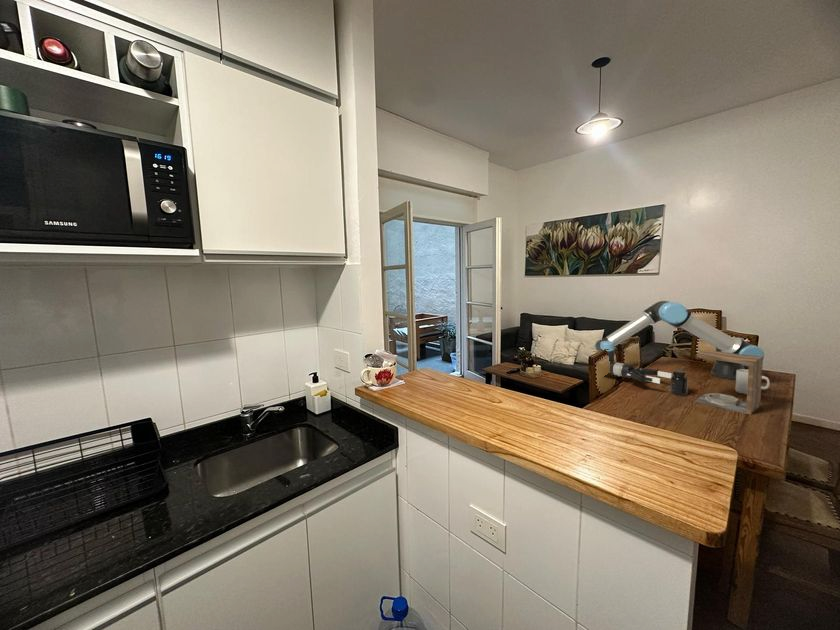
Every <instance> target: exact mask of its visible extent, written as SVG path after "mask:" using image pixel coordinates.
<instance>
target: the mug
mask: <svg viewBox="0 0 840 630" xmlns="http://www.w3.org/2000/svg"><path fill="white" fill-rule="evenodd" d="M748 370H749V369H745V368H744V369H738V370H737V371H736V379H735V392H737V393H739V394H742V393H743V394H744V395H747V388H748ZM762 380H764V381H765V380H766V385H765V386H763V385H761V391H762V390H768V389H769V387H770V384H771V382H770V379H769V378H768V377H767V376H765V375H762ZM743 394H742V395H743Z"/></svg>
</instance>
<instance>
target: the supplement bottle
mask: <svg viewBox="0 0 840 630" xmlns="http://www.w3.org/2000/svg"><path fill="white" fill-rule="evenodd" d="M688 383H689V381H688V378H687V377H686V371H683V370H678V369H677V370H672V377H671V378H670V394H671V395H674V394H675V396H678V395H680V397H686V396H688Z"/></svg>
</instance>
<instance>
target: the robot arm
mask: <svg viewBox="0 0 840 630" xmlns="http://www.w3.org/2000/svg"><path fill="white" fill-rule="evenodd" d="M641 312H642V313H641V314H640V315H638V316H636V317H635V318H633V319H632V320H630V321H628V322H627V323H626V324H624V325H622V326H621V327H620V328H618V329H616V330H615V331H613V332H611V333H610V334H608V335H607V336H606V337H604V338H603V339H598V340H597V341H596V342H595V343H594V347H595V350H596V351H597V352H599V351H601V350H604V349H609V350H606V351H607V353H608V356H609V361H610V373H611V374H610V375H612V376H613V375H614V376H617V377H623V378H628V379H631V378H632V379H634V380H637V381H639V382H642V383H646V382H649V383H654V384H659V385H660V384H661V378H667V379H671V377H672V376H673V372H672V373H671V372H666V371H660V370H659V369H653V368H643V367H642V368H641V367H638V368H634V366H633V365H632V364H626V363H622V362H617V361H615V349H616V346H618V345H619V344H621V343H623V342H624V341H625V340H627V339H629V338H631V337H633V335H635V334H637V333H639V332H640V331H642V330H644V329H645V328H647V327H648V326H650V325H652V324H653V325H654V324H655V325H656V323H658V322H661V321H663V322H664V323H667V324H668V325H670V326H672V327H674V328H675V329H679V328H680V329H683V330H685V331H686V332H688V333H690V334H692V335H694V336H696V337H697V338H699V339H701V340H702V341H704V342H706V343H707V344H709V345H711V346H713V347H714V348H715V351H717V352H726V353H734V354H742V355H751V356H759V357H763V360H764V359H765V352H764V349H762V348H760V347H759V346H757V345H754V344H752V343H749V342H748V341H746V340H744V338H743V337H732V336H730V335H729V334H727V333H725V332H723V331H721V330H720V329H718V328H716V327H714V326H712V325H710V324H708V323H707V322H705V321H704V320H701V319H700V318H698V317H696V316H694V315H693V312H692V310H690V309H687V308H686V307H685V306H684V305H683V304H682V303H679V302H676V301H667V300H660V301H657V302H655V303H653V304H652V305H651V306H649V307H647V308H645V310H643V311H641ZM745 367H748V368H749V365H747V364H740V363H733V362H725V361H718V360H715V362H714V364H713V367H712V368H711V370H710V374H711V376H713V377H716V378H721V379H725V380H727V379H729V380H736V371H737V370H738V369H745ZM656 376H657V377H656ZM659 377H661V378H659Z"/></svg>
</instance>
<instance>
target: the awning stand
mask: <svg viewBox="0 0 840 630" xmlns="http://www.w3.org/2000/svg"><path fill="white" fill-rule="evenodd" d="M696 358H697V359H698V358H699V359H704V360H711V361H716V360H718V361H725V362H733V363H740V364H747V365H749V367H748V369H747V370H748V388H747V394H746V401H741V400H740V399H739V398H737V397H735V396H734V395H729V394H723V393H715V392H713V393H711V392H710V393H709V392H708V393H705V394H703V395H701V396H700V397H698V398H696V399H695V400H694V402H695V403H697V404H698V403H699V404H702V405H703V404H704V405H708V406H712V407H717V408H721V409H725V410H728V411H732V412H737V413H741V414H746V415H753V414H754V413H755V412H756V411H758V410H759V409H760V408H761V397H762V396H761V395H762V389H761V386H762V382H763V381H762V380H763V379H762V376H763V361H764V359H763V357H759V356H751V355H742V354H734V353H726V352H717V351H716V350H708V349H707V350H705V351H702V352H700V353H697V354H696ZM753 412H754V413H753Z"/></svg>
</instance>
